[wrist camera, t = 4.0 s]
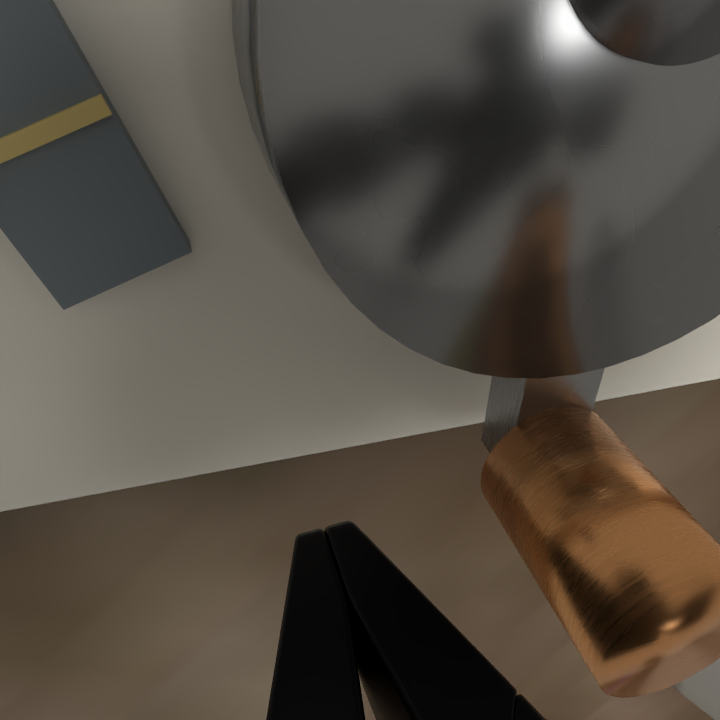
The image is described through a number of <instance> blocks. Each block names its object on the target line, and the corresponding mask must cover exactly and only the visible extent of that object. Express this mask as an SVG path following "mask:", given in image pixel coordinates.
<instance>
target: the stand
mask: <svg viewBox="0 0 720 720" xmlns="http://www.w3.org/2000/svg"><path fill="white" fill-rule="evenodd" d="M719 378H720V315H719V316H717V317H716V318H714V319H713V320H711V321H710V322H708V323H706V324H704V325H702V326H701V327H699V328H697V329H695V330H694V331H692V332H690V333H688V334H686V335H685V336H683V337H681V338H679V339H677V340H676V341H673V342H671V343H669V344H667V345H664V346H662V347H660V348H658V349H656V350H653V351H651V352H649V353H647V354H644V355H642V356H639V357H636V358H633V359H630V360H627V361H625V362H622V363H619V364H616V365H613V366H610V367H606V368H605V369H604V372H603V376H602V379H601V383H600V386H599V390H598V393H597V397H596V400H595V401H600V400H606V399H611V398H617V397H622V396H627V395H633V394H638V393H643V392H649V391H654V390H660V389H665V388H670V387H676V386H681V385H687V384H692V383H697V382H703V381H708V380H714V379H719ZM491 379H492V376H489V375H482V374H475V373H471V372H468V371H464V370H461V369H457V368H454V367H451V366H447V365H444V364H441V363H439V362H436V361H434V360H432V359H430V358H428V357H426V356H423V355H421V354H419V353H417V352H415V351H413V350H410V349H409V348H407V347H406V346H404V345H403V344H401V343H400V342H398V341H397V340H395V339H394V338H392V337H391V336H389V335H388V334H386V333H385V332H383V331H382V330H380V329H379V328H378V327H377V326H376V325H375V324H374V323H373V322H371V321H370V320H369V319H368V318H367V317H366V316H365V315H364V314H363V313H362V312H361V311H359V310H358V309H357V308H356V307H355V306H354V305H353V304H352V303H351V302H350V301H349V300H348V298H347V297H346V296H345V295H344V293H343V292H342V291H341V290H340V288H339V287H338V286H337V285H336V283H335V282H334V281H333V280H332V278H331V277H330V276H329V275H328V273H327V272H326V271H325V269H324V268H323V266H322V264H321V263H320V261H319V259H318V257H317V256H316V254H315V252H314V251H313V249H312V247H311V245H310V244H309V242H308V240H307V239H306V237H305V235H304V233H303V232H302V230H301V228H300V226H299V224H298V222H297V221H296V219H295V217H294V215H293V213H292V211H291V209H290V208H289V206H288V204H287V202H286V200H285V198H284V196H283V195H282V193H281V191H280V189H279V187H278V185H277V183H276V181H275V180H274V178H273V176H272V174H271V172H270V170H269V168H268V166H267V163H266V161H265V158H264V156H263V154H262V151H261V149H260V146H259V144H258V142H257V139H256V137H255V134H254V132H253V130H252V126H251V122H250V119H249V115H248V111H247V108H246V104H245V100H244V97H243V93H242V89H241V86H240V81H239V74H238V67H237V60H236V54H235V47H234V40H233V33H232V0H0V512H2V511H7V510H13V509H18V508H23V507H29V506H34V505H39V504H45V503H50V502H56V501H61V500H66V499H72V498H77V497H83V496H88V495H93V494H99V493H104V492H110V491H115V490H120V489H126V488H131V487H137V486H142V485H147V484H153V483H158V482H164V481H169V480H174V479H180V478H185V477H190V476H196V475H201V474H207V473H212V472H217V471H223V470H228V469H234V468H239V467H244V466H250V465H255V464H261V463H266V462H271V461H277V460H282V459H288V458H293V457H298V456H304V455H309V454H315V453H320V452H325V451H331V450H336V449H341V448H347V447H352V446H358V445H363V444H368V443H374V442H379V441H385V440H390V439H395V438H401V437H406V436H412V435H417V434H422V433H428V432H433V431H439V430H444V429H449V428H455V427H460V426H466V425H471V424H476V423H482V422H484V421H485V415H486V409H487V403H488V397H489V391H490V385H491Z"/></svg>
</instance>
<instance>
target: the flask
mask: <svg viewBox="0 0 720 720" xmlns="http://www.w3.org/2000/svg"><path fill="white" fill-rule="evenodd" d="M672 686H673V687H674V688H675V689H676V690H678V691H679V692H680V693H681V694H682V695H684V696H685V697H686V698H687V699H689V700H690V701H691V702H693V703H694V704H695V705H696V706H698V707H699V708H700V709H702V710H703V711H704V712H705V713H707V714H708V715H709V716H711V717H712V718H713V719H714V720H720V658H719V659H718V660H716V661H715V662H714V663H712V664H711V665H709V666H708V667H706V668H705V669H703V670H701V671H700V672H698V673H696V674H695V675H693V676H691V677H689V678H687V679H685V680H683V681H681V682H679V683H677V684H675V685H672Z"/></svg>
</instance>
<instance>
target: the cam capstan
mask: <svg viewBox="0 0 720 720" xmlns="http://www.w3.org/2000/svg"><path fill="white" fill-rule="evenodd" d="M232 33H233V40H234V47H235V54H236V60H237V67H238V74H239V81H240V86H241V89H242V93H243V97H244V100H245V104H246V108H247V111H248V115H249V119H250V122H251V126H252V130H253V132H254V134H255V137H256V139H257V142H258V144H259V146H260V149H261V151H262V154H263V156H264V158H265V161H266V163H267V166H268V168H269V170H270V172H271V174H272V176H273V178H274V180H275V181H276V183H277V185H278V187H279V189H280V191H281V193H282V195H283V196H284V198H285V200H286V202H287V204H288V206H289V208H290V209H291V211H292V213H293V215H294V217H295V219H296V221H297V222H298V224H299V226H300V228H301V230H302V232H303V233H304V235H305V237H306V239H307V240H308V242H309V244H310V245H311V247H312V249H313V251H314V252H315V254H316V256H317V257H318V259H319V261H320V263H321V264H322V266H323V268H324V269H325V271H326V272H327V273H328V275H329V276H330V277H331V278H332V280H333V281H334V282H335V283H336V285H337V286H338V287H339V288H340V290H341V291H342V292H343V293H344V295H345V296H346V297H347V298H348V300H349V301H350V302H351V303H352V304H353V305H354V306H355V307H356V308H357V309H358V310H359V311H361V312H362V313H363V314H364V315H365V316H366V317H367V318H368V319H369V320H370V321H371V322H373V323H374V324H375V325H376V326H377V327H378V328H379V329H380V330H382V331H383V332H385V333H386V334H388V335H389V336H391V337H392V338H394V339H395V340H397V341H398V342H400V343H401V344H403V345H404V346H406V347H407V348H409V349H410V350H413V351H415V352H417V353H419V354H421V355H423V356H426V357H428V358H430V359H432V360H434V361H436V362H439V363H441V364H444V365H447V366H451V367H454V368H457V369H461V370H464V371H468V372H471V373H475V374H482V375H489V376H492V379H491V385H490V391H489V397H488V403H487V409H486V415H485V421H484V427H483V433H482V439H481V440H482V442H483V443H484V445H485V446H486V448H487V449H488V451H489V452H490V454H489V456H488V458H487V460H486V462H485V464H484V467H483V470H482V474H481V488H482V492H483V494H484V496H485V498H486V499H487V501H488V503H489V504H490V506H491V508H492V509H493V511H494V513H495V514H496V516H497V518H498V519H499V521H500V523H501V524H502V526H503V527H504V529H505V531H506V532H507V534H508V536H509V537H510V539H511V541H512V542H513V544H514V546H515V547H516V549H517V551H518V552H519V554H520V556H521V557H522V559H523V560H524V562H525V564H526V565H527V567H528V569H529V570H530V572H531V574H532V575H533V577H534V579H535V580H536V582H537V584H538V585H539V587H540V589H541V590H542V592H543V593H544V595H545V597H546V598H547V600H548V602H549V603H550V605H551V607H552V608H553V610H554V612H555V613H556V615H557V617H558V618H559V620H560V622H561V623H562V625H563V627H564V628H565V630H566V631H567V633H568V635H569V636H570V638H571V640H572V641H573V643H574V645H575V646H576V648H577V650H578V651H579V653H580V655H581V656H582V658H583V660H584V661H585V663H586V664H587V666H588V668H589V669H590V671H591V673H592V674H593V676H594V678H595V679H596V681H597V683H598V684H599V686H600V688H601V689H602V690H603V691H604V692H605V693H607V694H608V695H611V696H614V697H636V696H641V695H646V694H650V693H653V692H657V691H659V690H662V689H665V688H667V687H670V686H672V685H675V684H677V683H679V682H681V681H683V680H685V679H687V678H689V677H691V676H693V675H695V674H696V673H698V672H700V671H701V670H703V669H705V668H706V667H708V666H709V665H711V664H712V663H714V662H715V661H716V660H718V659H719V658H720V545H719V544H718V543H717V542H716V541H715V540H714V539H713V538H712V537H711V536H710V535H709V534H708V533H707V531H706V530H705V529H704V528H703V527H702V526H701V525H700V524H699V523H698V522H697V521H696V520H695V519H694V518H693V516H692V515H691V514H690V513H689V512H688V511H687V510H686V509H685V508H684V507H683V506H682V505H681V504H680V503H679V501H678V500H677V499H676V498H675V497H674V496H673V495H672V494H671V493H670V492H669V491H668V490H667V489H666V488H665V486H664V485H663V484H662V483H661V482H660V481H659V480H658V479H657V478H656V477H655V476H654V475H653V474H652V473H651V471H650V470H649V469H648V468H647V467H646V466H645V465H644V464H643V463H642V462H641V461H640V460H639V459H638V458H637V456H636V455H635V454H634V453H633V452H632V451H631V450H630V449H629V448H628V447H627V446H626V445H625V444H624V442H623V441H622V440H621V439H620V438H619V437H618V436H617V435H616V434H615V433H614V432H613V431H612V430H611V429H610V427H609V426H608V425H607V424H606V423H605V422H604V421H603V420H602V419H601V418H600V417H599V416H598V415H597V414H596V413H594V412H593V407H594V404H595V400H596V397H597V393H598V390H599V386H600V383H601V379H602V376H603V372H604V369H605V368H606V367H610V366H613V365H616V364H619V363H622V362H625V361H627V360H630V359H633V358H636V357H639V356H642V355H644V354H647V353H649V352H651V351H653V350H656V349H658V348H660V347H662V346H664V345H667V344H669V343H671V342H673V341H676V340H677V339H679V338H681V337H683V336H685V335H686V334H688V333H690V332H692V331H694V330H695V329H697V328H699V327H701V326H702V325H704V324H706V323H708V322H710V321H711V320H713V319H714V318H716V317H717V316H719V315H720V0H232Z"/></svg>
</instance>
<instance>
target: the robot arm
mask: <svg viewBox="0 0 720 720" xmlns="http://www.w3.org/2000/svg"><path fill="white" fill-rule="evenodd" d="M358 673H359V674H358ZM359 676H360V679H361V682H362V684H363V687H364V690H365V692H366V695H367V697H368V700H369V703H370V705H371V708H372V710H373V713H374V715H375V718H376V720H546V719H545V718H544V717H543V716H542V715H541V714H540V713H539V712H538V711H537V710H536V709H535V708H534V707H533V706H532V705H531V704H530V703H529V702H528V701H527V700H526V699H525V698H524V697H523V696H522V695H521V694H519V695H517V690H516V689H515V688H514V687H513V686H512V685H511V684H510V683H509V682H508V681H507V680H506V679H505V677H504V676H503V675H502V674H501V673H500V672H499V671H498V670H497V669H496V668H495V667H494V666H493V665H492V664H491V663H490V662H489V661H488V660H487V659H486V658H485V657H484V656H483V655H482V654H481V653H480V652H479V651H478V650H477V649H476V648H475V647H474V646H473V645H472V644H471V643H470V642H469V641H468V640H467V638H466V637H465V636H464V635H463V634H462V633H461V632H460V631H459V630H458V629H457V628H456V627H455V626H454V625H453V624H452V623H451V622H450V621H449V620H448V619H447V618H446V617H445V616H444V615H443V614H442V613H441V612H440V611H439V610H438V609H437V608H436V607H435V606H434V605H433V604H432V603H431V602H430V601H429V600H428V598H427V597H426V596H425V595H424V594H423V593H422V592H421V591H420V590H419V589H418V588H417V587H416V586H415V585H414V584H413V583H412V582H411V581H410V580H409V579H408V578H407V577H406V576H405V575H404V574H403V573H402V572H401V571H400V570H399V569H398V568H397V567H396V566H395V565H394V564H393V563H392V562H391V561H390V559H389V558H388V557H387V556H386V555H385V554H384V553H383V552H382V551H381V550H380V549H379V548H378V547H377V546H376V545H375V544H374V543H373V542H372V541H371V540H370V539H369V538H368V537H367V536H366V535H365V534H364V533H363V532H362V531H361V530H360V529H359V528H358V527H357V526H356V525H355V524H354V523H353V522H351V521H345V522H341V523H338V524H334V525H330V526H328V527H326V529H325V532H324V531H323V530H322V529H316V530H312V531H308V532H305V533H301V534H299V535H298V536H297V537H296V539H295V544H294V551H293V557H292V563H291V569H290V575H289V582H288V588H287V594H286V600H285V607H284V613H283V619H282V625H281V631H280V638H279V644H278V650H277V656H276V663H275V669H274V675H273V681H272V687H271V694H270V700H269V706H268V712H267V719H266V720H365V715H364V708H363V701H362V694H361V687H360V680H359ZM516 696H517V697H516Z"/></svg>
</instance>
